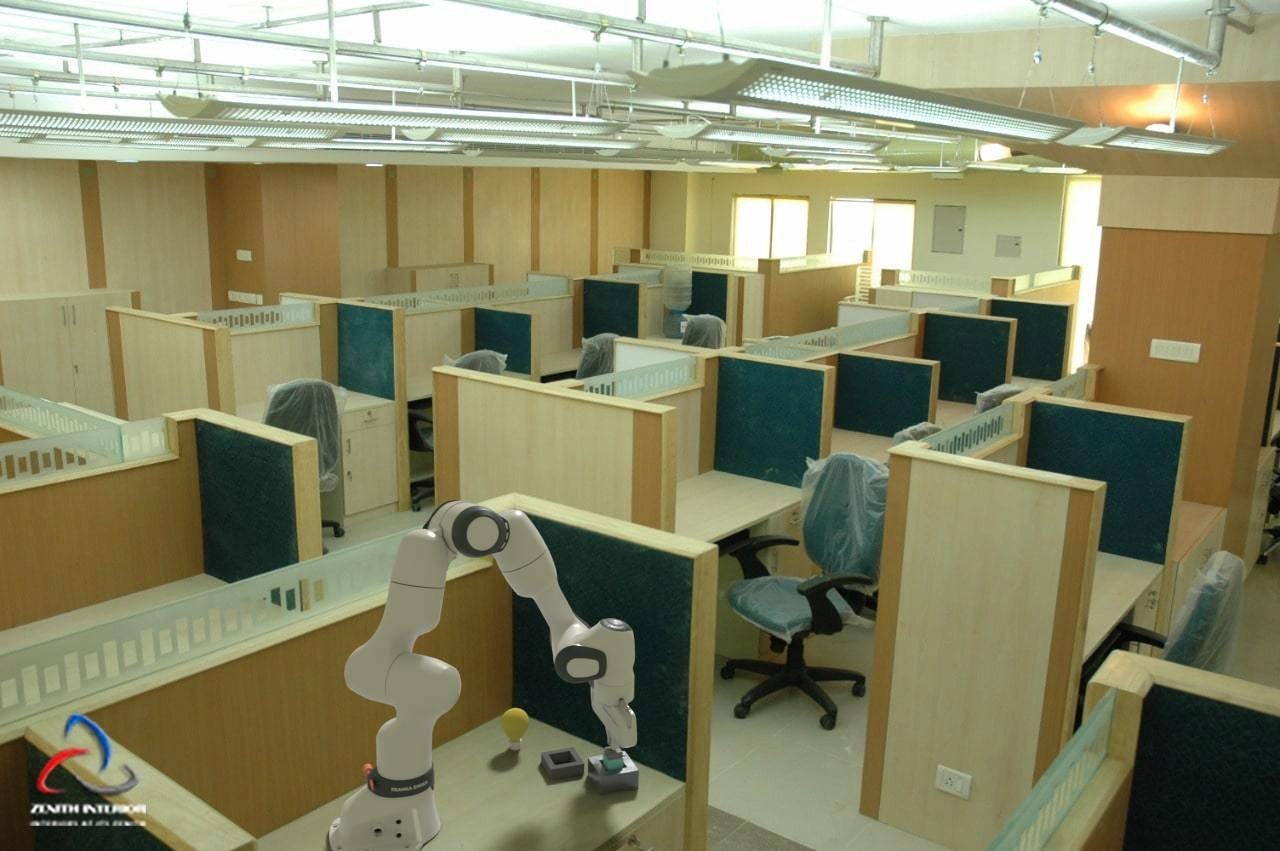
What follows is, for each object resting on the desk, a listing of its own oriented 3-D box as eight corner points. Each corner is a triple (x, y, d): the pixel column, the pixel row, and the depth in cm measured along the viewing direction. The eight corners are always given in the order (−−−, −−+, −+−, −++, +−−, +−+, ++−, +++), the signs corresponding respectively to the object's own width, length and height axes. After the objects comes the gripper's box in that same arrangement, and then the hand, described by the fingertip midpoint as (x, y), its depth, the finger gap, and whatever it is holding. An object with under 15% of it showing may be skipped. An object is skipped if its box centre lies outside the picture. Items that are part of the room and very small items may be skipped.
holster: (550, 779, 240) (550, 769, 240) (541, 762, 247) (541, 752, 247) (584, 773, 243) (584, 763, 242) (573, 756, 250) (573, 747, 250)
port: (600, 795, 234) (600, 776, 233) (587, 775, 242) (587, 756, 241) (638, 788, 237) (638, 769, 236) (624, 768, 245) (624, 750, 245)
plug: (607, 787, 237) (608, 754, 236) (602, 779, 241) (603, 747, 239) (622, 784, 239) (623, 752, 237) (617, 776, 242) (618, 744, 240)
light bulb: (503, 740, 257) (503, 702, 255) (530, 741, 257) (531, 703, 255) (498, 754, 250) (498, 715, 248) (526, 755, 250) (527, 716, 248)
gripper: (644, 708, 227) (643, 766, 230) (612, 669, 246) (611, 723, 249) (617, 712, 225) (616, 771, 228) (586, 673, 243) (585, 728, 246)
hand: (613, 746), depth 238 cm, fingers closed
